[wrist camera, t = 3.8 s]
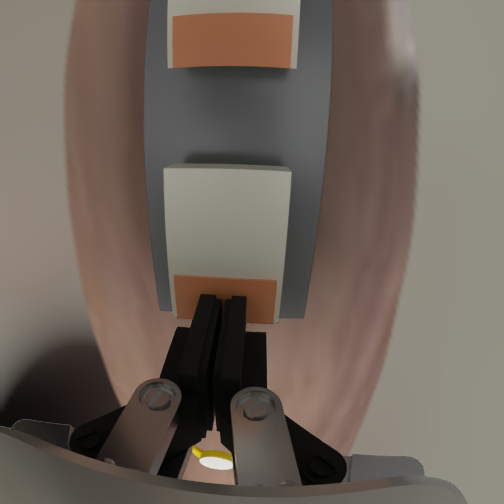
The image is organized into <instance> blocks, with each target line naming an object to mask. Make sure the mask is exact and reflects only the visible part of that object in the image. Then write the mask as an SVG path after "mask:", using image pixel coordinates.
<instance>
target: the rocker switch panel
mask: <svg viewBox="0 0 504 504" xmlns="http://www.w3.org/2000/svg"><path fill="white" fill-rule="evenodd" d="M167 9H168V0H150V4H149V13H148V24H147V36H146V51H145V72H144V155H145V176H146V193H147V206H148V218H149V229H150V239H151V248H152V257H153V265H154V273H155V280H156V287H157V294H158V301H159V307H160V310H163V311H172V303H171V293H170V283H169V271H168V259H167V245H166V228H165V207H164V171H163V169H164V168H166V167H168V166H171V165H173V164H186V163H196V164H245V165H267V166H284V167H288V168H289V169H290V170H291V172H292V175H291V190H290V203H289V216H288V228H287V240H286V251H285V262H284V273H283V283H282V293H281V303H280V313H279V318H304V314H305V308H306V302H307V296H308V290H309V284H310V277H311V271H312V264H313V257H314V250H315V243H316V236H317V228H318V221H319V213H320V204H321V196H322V187H323V177H324V167H325V157H326V146H327V134H328V121H329V107H330V90H331V70H332V41H333V0H300V19H299V37H298V53H297V68H296V69H292V68H277V67H258V66H201V67H182V68H168V61H167Z"/></svg>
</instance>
